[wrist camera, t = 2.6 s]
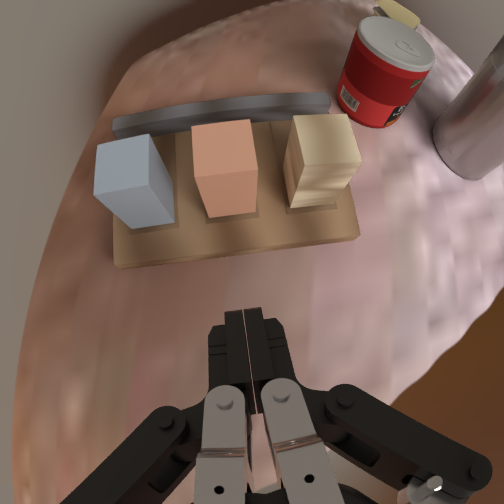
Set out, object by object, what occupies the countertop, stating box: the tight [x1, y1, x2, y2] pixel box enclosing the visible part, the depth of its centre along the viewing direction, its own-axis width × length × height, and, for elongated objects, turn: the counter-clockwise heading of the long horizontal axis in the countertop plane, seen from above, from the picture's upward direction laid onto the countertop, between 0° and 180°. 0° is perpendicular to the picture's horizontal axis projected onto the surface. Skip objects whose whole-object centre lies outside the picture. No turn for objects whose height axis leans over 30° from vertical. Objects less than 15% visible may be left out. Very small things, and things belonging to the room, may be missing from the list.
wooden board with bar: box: [112, 92, 361, 269], centre depth 29 cm, size 22×16×4 cm
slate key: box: [93, 134, 175, 229], centre depth 24 cm, size 4×4×8 cm
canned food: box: [337, 16, 435, 128], centre depth 28 cm, size 8×8×11 cm
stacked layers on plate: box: [373, 0, 420, 31], centre depth 34 cm, size 10×9×6 cm
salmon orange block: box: [191, 119, 258, 218], centre depth 24 cm, size 4×4×8 cm
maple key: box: [283, 114, 362, 208], centre depth 24 cm, size 4×4×8 cm
